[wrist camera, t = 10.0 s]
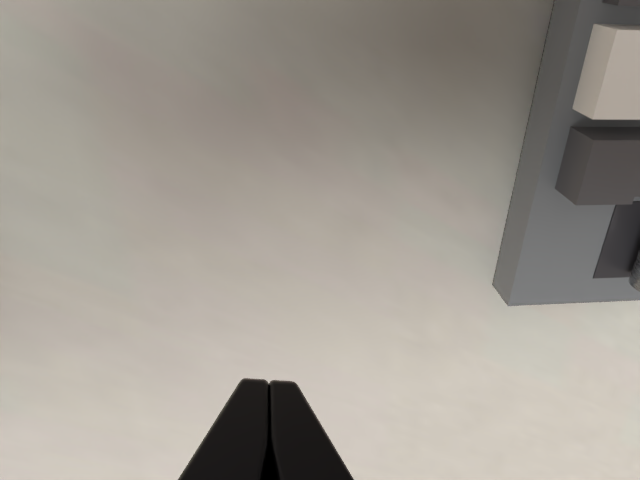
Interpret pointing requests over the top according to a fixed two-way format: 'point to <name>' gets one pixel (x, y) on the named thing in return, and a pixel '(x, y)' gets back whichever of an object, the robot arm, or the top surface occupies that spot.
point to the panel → (578, 164)
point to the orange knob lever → (635, 274)
